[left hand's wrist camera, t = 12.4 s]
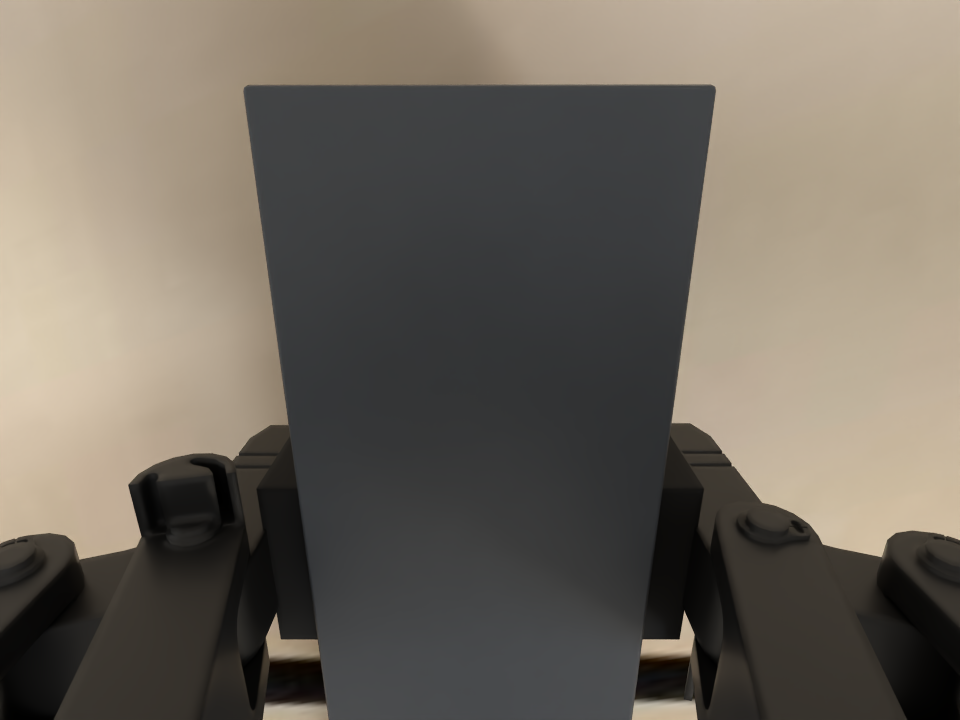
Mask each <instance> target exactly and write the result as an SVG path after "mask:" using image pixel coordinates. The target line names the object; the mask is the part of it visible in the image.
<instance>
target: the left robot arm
mask: <svg viewBox="0 0 960 720" xmlns="http://www.w3.org/2000/svg"><path fill="white" fill-rule="evenodd" d="M128 486H129V490H130V494H131V498H132V501H133V505H134V509H135V513H136V517H137V521H138V525H139V528H140V532H141V536H142V537H141V539H140V541H139V543H138V546H137V548H133V549H129V550H125V551H121V552H116V553H111V554H106V555H101V556H96V557H91V558H86V559H81V560H79V557H78V554H77V551H76V547H75V544H74V542H73V541H71V540H70V539H69V538H68V537H66V536H64V535H58V534H51V533H48V534H38V535H29V536H24V537H19V538H17V539H12V540H9V541H6V542H3V543H1V544H0V720H263V712H264V704H265V695H266V687H267V679H268V671H269V654H268V648H267V642H266V635H267V633H268V631H269V629H270V626H271V624H272V622H273V619H274V617H275V615H276V612H277V618H278V624H279V630H280V636H281V639H318V637H317V629H316V622H315V614H314V607H313V600H312V592H311V585H310V578H309V570H308V563H307V555H306V548H305V541H304V533H303V526H302V519H301V511H300V504H299V497H298V489H297V482H296V474H295V467H294V460H293V452H292V445H291V438H290V430H289V425H270V426H269V427H267V428H266V429H264V430H263V431H261V432H259V433H258V434H256V435H255V436H253V437H251V438H250V439H249V441H248V442H247V443H246V445H245V446H244V447H243V448H242V450H241V451H240V452H239V456H236V458H235V459H234V460H233V461H231V460H230V459H229V458H228V457H226V456H221V455H217V454H212V453H209V454H190V455H185V456H180V457H175V458H172V459H169V460H166V461H163V462H161V463H158V464H155V465H153V466H152V467H150V468H148V469H146V470H145V471H143V472H141V473H140V474H138V475H137V476H136V477H135V478H134V479H133V481H132V482H131V483H130V484H129V485H128ZM684 611H685V613H686V615H687V617H688V620H689V622H690V624H691V627H692V629H693V631H694V634H695V636H694V642H693V648H692V653H691V659H690V665H689V670H688V676H687V682H686V687H685V694H684V699H685V700H690V701H692V696H693V691H694V694H695V702H696V710H697V719H698V720H960V540H958V539H955V538H952V537H949V536H947V537H945V536H944V535H941V534H936V533H928V532H919V531H907V532H900V533H896V534H894V535H893V536H892V537H891V538H889V539H888V540H887V543H886V546H885V549H884V552H883V556H882V557H877V556H872V555H868V554H863V553H858V552H853V551H848V550H843V549H838V548H834V547H830V546H826V545H823V544H822V542H821V540H820V538H819V536H818V535H817V534H816V532H815V531H814V530H813V529H812V527H811V526H810V525H809V524H808V523H806V522H805V521H804V520H802V519H801V518H799V517H798V516H796V515H795V514H793V513H791V512H789V511H786V510H784V509H781V508H779V507H777V506H773V505H769V504H765V503H762V502H761V501H760V500H759V498H758V497H757V496H756V494H755V493H754V492H753V491H752V489H751V488H750V487H749V485H748V484H747V483H746V482H745V480H744V479H743V478H742V476H741V475H740V474H739V472H738V471H737V470H736V469H735V467H732V466H731V462H730V461H729V460H728V458H727V457H726V456H725V454H722V450H721V449H720V448H719V447H718V445H717V444H716V443H715V441H714V440H713V439H712V438H711V436H709V435H708V434H706V433H705V432H703V431H701V430H700V429H698V428H697V427H695V426H693V425H692V424H690V423H671V429H670V437H669V444H668V452H667V459H666V467H665V474H664V482H663V489H662V496H661V504H660V511H659V519H658V526H657V534H656V541H655V549H654V556H653V564H652V571H651V579H650V586H649V594H648V601H647V608H646V616H645V623H644V631H643V638H642V639H680V633H681V627H682V620H683V614H684Z"/></svg>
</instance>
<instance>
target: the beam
mask: <svg viewBox="0 0 960 720" xmlns="http://www.w3.org/2000/svg"><path fill="white" fill-rule="evenodd" d="M715 93H716V90H715V86H713V85H248V86H246V87H244V99H245V106H246V113H247V121H248V128H249V136H250V143H251V150H252V158H253V165H254V172H255V180H256V187H257V194H258V202H259V209H260V217H261V224H262V231H263V239H264V246H265V253H266V261H267V268H268V276H269V283H270V290H271V298H272V305H273V312H274V320H275V327H276V334H277V342H278V349H279V357H280V364H281V371H282V379H283V386H284V393H285V401H286V408H287V415H288V423H289V430H290V438H291V445H292V452H293V460H294V467H295V474H296V482H297V489H298V497H299V504H300V511H301V519H302V526H303V533H304V541H305V548H306V555H307V563H308V570H309V578H310V585H311V592H312V600H313V607H314V614H315V622H316V629H317V637H318V644H319V651H320V659H321V666H322V673H323V681H324V688H325V695H326V703H327V710H328V718H329V720H632V713H633V706H634V698H635V691H636V683H637V676H638V668H639V661H640V653H641V646H642V638H643V631H644V623H645V616H646V608H647V601H648V594H649V586H650V579H651V571H652V564H653V556H654V549H655V541H656V534H657V526H658V519H659V511H660V504H661V496H662V489H663V482H664V474H665V467H666V459H667V452H668V444H669V437H670V429H671V422H672V414H673V407H674V399H675V392H676V384H677V377H678V369H679V362H680V355H681V347H682V340H683V332H684V325H685V317H686V310H687V302H688V295H689V287H690V280H691V272H692V265H693V257H694V250H695V242H696V235H697V228H698V220H699V213H700V205H701V198H702V190H703V183H704V175H705V168H706V160H707V153H708V145H709V138H710V130H711V123H712V115H713V108H714V101H715Z"/></svg>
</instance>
